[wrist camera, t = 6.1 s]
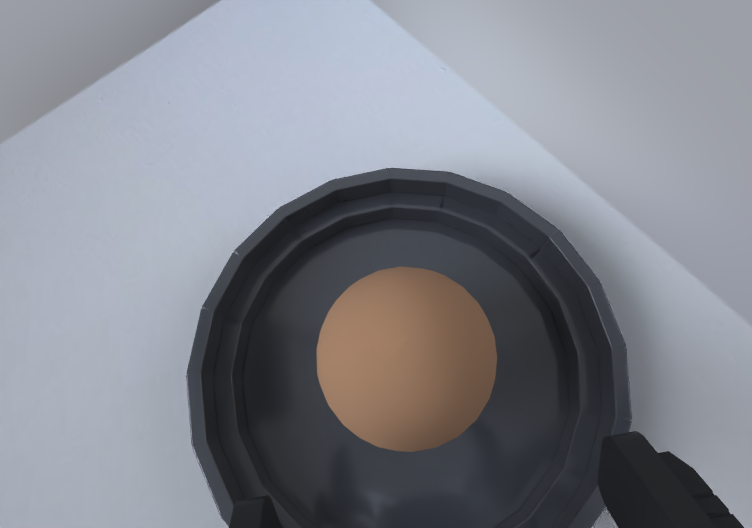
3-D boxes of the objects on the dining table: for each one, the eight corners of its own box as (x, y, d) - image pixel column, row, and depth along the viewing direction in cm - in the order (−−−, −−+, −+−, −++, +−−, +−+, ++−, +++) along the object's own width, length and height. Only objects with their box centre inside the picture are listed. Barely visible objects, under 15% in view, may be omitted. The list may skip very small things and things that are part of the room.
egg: (470, 455, 19) (524, 484, 11) (319, 432, 19) (270, 444, 12) (480, 306, 21) (532, 242, 13) (344, 289, 21) (315, 217, 14)
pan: (385, 140, 24) (384, 104, 22) (671, 351, 20) (716, 341, 17) (140, 384, 21) (99, 379, 18) (428, 703, 17) (435, 763, 14)
